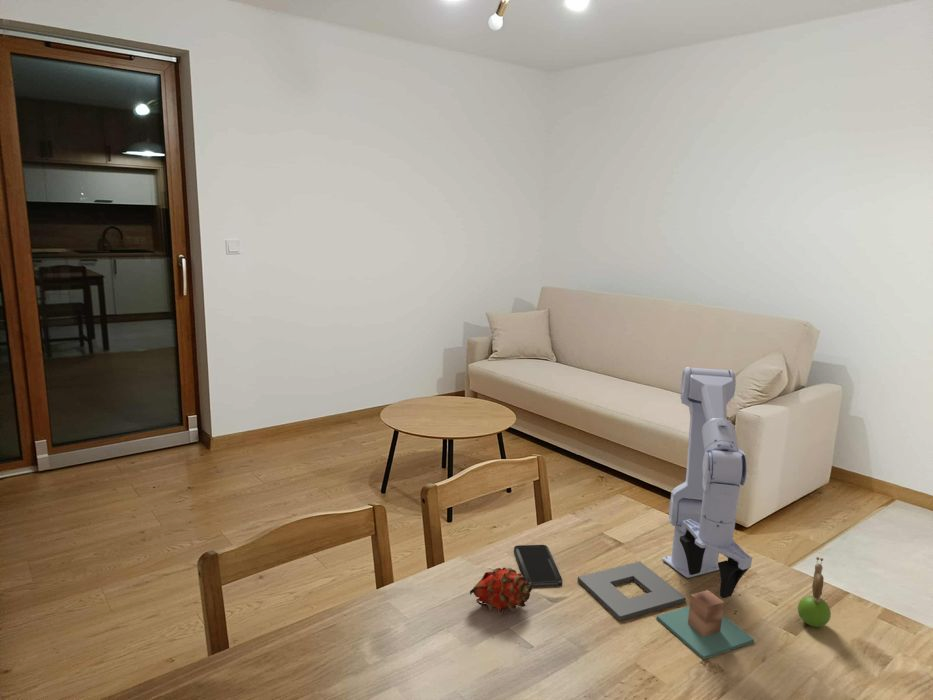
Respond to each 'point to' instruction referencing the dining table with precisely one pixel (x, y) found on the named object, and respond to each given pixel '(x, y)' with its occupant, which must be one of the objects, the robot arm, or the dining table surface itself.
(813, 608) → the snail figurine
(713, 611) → the terracotta block
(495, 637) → the dining table surface
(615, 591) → the charcoal pocket board
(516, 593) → the dragon fruit
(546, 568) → the phone
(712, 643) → the teal mat
